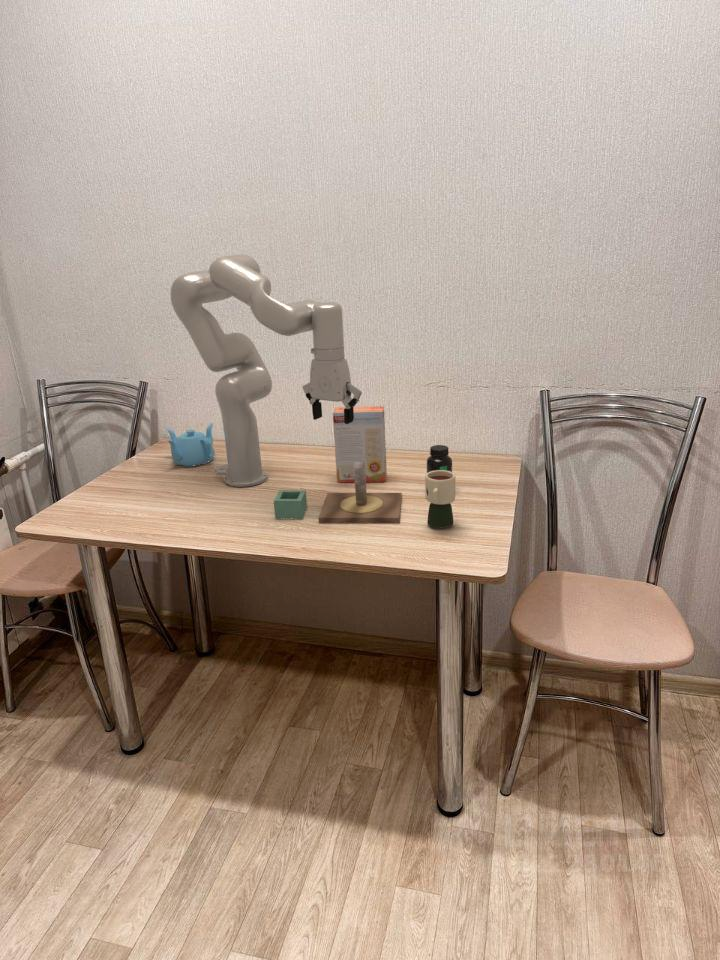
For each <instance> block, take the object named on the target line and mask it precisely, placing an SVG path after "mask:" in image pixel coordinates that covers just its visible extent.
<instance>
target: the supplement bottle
mask: <svg viewBox="0 0 720 960" xmlns="http://www.w3.org/2000/svg"><path fill="white" fill-rule="evenodd" d="M449 453H450V452H449V447H448V446H447V445H444V444H443V445H442V444H435V445H431V446H430V449H429V456H428V457H427V459H426V473H428V472H431V471H436V470H445V471H450V472H453V459H452V457H451V456H449Z"/></svg>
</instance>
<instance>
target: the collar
mask: <svg viewBox="0 0 720 960" xmlns="http://www.w3.org/2000/svg"><path fill="white" fill-rule="evenodd" d="M273 509H274V518H275V520H287V519H286V518H289V519H288V520H291V519H290V518H293V519H292V520H303V519H304V517H303V516H305V514H306V512H307V510H306V509H308V501H307V490H305V489H289V490H288V489H283V490H282V489H280V490H278V491H277V494H276V495H275V497H274V499H273ZM305 511H306V512H305ZM276 518H277V519H276ZM281 518H282V519H281ZM283 518H285V519H283ZM295 518H297V519H295Z"/></svg>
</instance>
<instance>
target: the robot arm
mask: <svg viewBox="0 0 720 960" xmlns="http://www.w3.org/2000/svg"><path fill="white" fill-rule="evenodd" d="M271 293H272V283H271V281H270V278H268V277H267V276H265V275H264V274H262V273H261V268H260V266H259V263H258V262H257V260H256V259H255V258H253V257H252V256H250V255H248V254H234V255H224V256H221V257H218V258H216V259H215V260H214V261H212V263H210V266H209V269H208V270H199V271H192V272H187V273H183V274H181V275H180V276H178V277H176V278H175V279H174V280H173V282H172V284H171V288H170V301H171V305H172V309H173V311H174V313H175V315H176V316H177V318H178V319H179V320H180V322H181V323H182V324H183V326H184V328H185V329H186V331H187V332H188V334H189V336H190V338H191V340H192V342H193V344H194V346H195V348H196V350H197V352H198V353H199V356H200V357H201V358H202V361H203V363H204V364H205V366H206V367H207V369H209V370H210V371H211V372H214V373H220V372H226V371H228V370H231V369H236V371H233V372H229V373H226V374H225V375H223V376H221V377H220V378H219V379H218V381H217V382H216V384H215V390H214V391H215V397H216V400H217V403H218V406H219V409H220V413H221V414H220V415H221V420H222V425H223V436H224V442H225V450H226V451H225V452H226V460H227V464H225V465H214V472H215V473H216V475H225V476H224V478H223V481H224V484H226V485H227V484H228V485H227V486H231V487H234V486H235V488H237V487H238V488H246V487H253V486H257V485H260V484H263V483H264V482H266V481H267V480H268V478H269V477H268V476H269V474H268V471H266V470H264V469H263V468H262V458H261V448H260V447H261V446H260V438H259V430H258V429H259V428H258V427H259V426H258V420H257V416H256V414H255V412H254V411H253V409H252V407H251V406H250V404H252V403H254V402H256V401H260V400H262V399H264V398H266V397H267V396H269V395H270V394H271V392H272V389H273V381H272V377H271V375H270V372H269V371H268V369H267V367H266V365H265V363H264V361H263V359H262V357H261V355H260V353H259V351H258V349H257V348H256V346H255V344H254V342H253V341H252V340H251V338H250V337H248V336H247V335H246V334H245V333H241V332H231V333H227V334H226V333H225V332H224V331H223V329H222V327H221V326H220V323H219V322H218V321H219V320H217V318H216V317H215V315H214V314H212V313H211V312H210V311H209V310H208V309H206V308H205V307H204V306H203V304H209V303H215V302H219V301H223V300H227V299H230V298H231V297H233V298H235V299H237V300H238V301H240V302H242V303H244V305H245V304H246V305H247V306H249V307H250V310H251V313H252V314H253V316H254V317H255V319H256V321H257V322H259V324H261V325H263V327H266V328H267V329H269V330H271V331H273V332H274V333H276V334H279V335H281V336H285V337H286V336H287V337H291V336H294V335H295V336H296V335H299V334H302V333H306V332H311V331H312V341H313V342H312V343H313V347H312V348H310V353H311V354H313V356H314V357H313V358H312V359H311V363H310V370H309V382H307V383H306V384H305V385H302V390H303V392H304V394H305V397H306V398H307V400H308V401H309V404H310V405H311V410H312V411H311V412H312V420H318V419H320V418H322V417H323V406H322V402H321V401H328V402H336V403H337V402H338V403H340V402H341V403H342V404H343V406H344V407H346V408H345V409H344V423H345V424H349V423H351V422H353V419H354V410H353V407H356V405H357V404H358V403H359V401H360V399H361V396H362V393H363V392H362V391H361V390H360V389H358V388H357V387H356V386H354V385H353V384H352V383H351V382H352V380H351V373H350V368H349V363H348V360H347V359H346V358H345V341H344V337H345V336H344V319H343V317H344V316H343V308H342V305H341V304H340V303H338V302H320V301H317V300H311V299H310V300H308V299H306V300H305V299H304V300H301V301H295V302H290V303H286V304H285V303H282V302H281V301H279V300H277V299H275V298H273V297H271V296H270V295H271ZM352 394H353V397H352Z"/></svg>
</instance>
